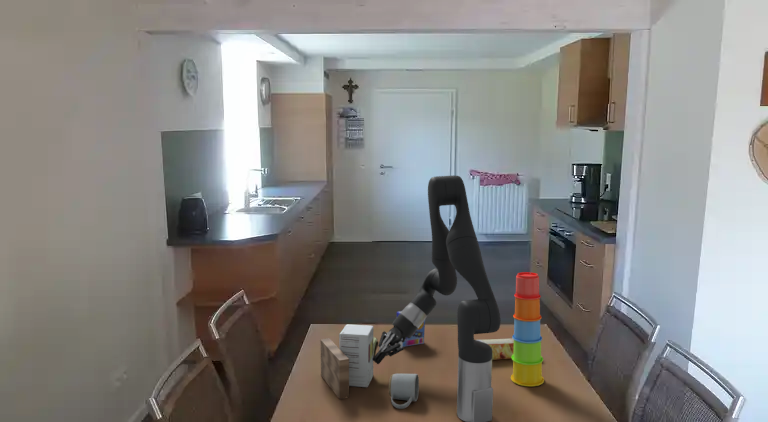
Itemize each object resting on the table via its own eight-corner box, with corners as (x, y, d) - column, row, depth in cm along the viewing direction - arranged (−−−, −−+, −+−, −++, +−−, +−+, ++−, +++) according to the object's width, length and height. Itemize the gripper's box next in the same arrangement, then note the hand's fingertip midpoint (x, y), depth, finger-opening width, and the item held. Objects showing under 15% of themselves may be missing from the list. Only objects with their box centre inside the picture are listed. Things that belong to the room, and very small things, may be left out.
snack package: (526, 352, 202) (527, 334, 201) (534, 359, 196) (535, 341, 195) (470, 355, 199) (470, 337, 198) (476, 363, 192) (477, 344, 191)
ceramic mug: (392, 391, 171) (392, 367, 170) (419, 393, 169) (419, 369, 168) (385, 408, 161) (385, 383, 160) (413, 411, 159) (414, 386, 158)
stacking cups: (514, 387, 174) (519, 278, 169) (507, 373, 184) (511, 270, 179) (547, 387, 174) (553, 279, 169) (539, 373, 184) (543, 270, 179)
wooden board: (349, 397, 167) (348, 358, 165) (339, 399, 166) (339, 360, 164) (329, 373, 183) (329, 338, 182) (320, 374, 182) (320, 339, 180)
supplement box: (368, 388, 173) (368, 335, 171) (338, 385, 175) (338, 333, 172) (373, 374, 182) (374, 325, 180) (346, 372, 184) (345, 323, 182)
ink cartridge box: (401, 347, 205) (402, 309, 203) (395, 342, 210) (395, 305, 208) (425, 343, 209) (426, 306, 207) (418, 338, 214) (418, 302, 212)
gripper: (393, 307, 187) (359, 348, 184) (411, 319, 175) (375, 363, 172) (408, 320, 190) (374, 360, 187) (426, 333, 178) (391, 376, 175)
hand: (375, 362), depth 180 cm, fingers closed
